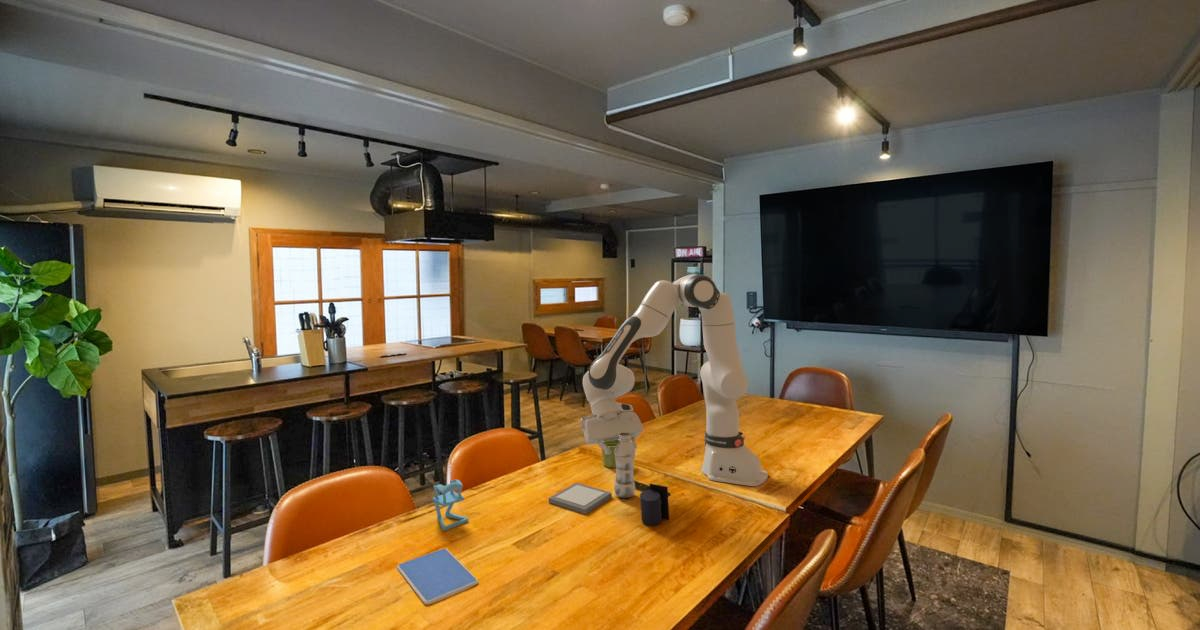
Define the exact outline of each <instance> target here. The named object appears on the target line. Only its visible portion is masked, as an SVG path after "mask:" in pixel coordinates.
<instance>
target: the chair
mask: <svg viewBox="0 0 1200 630" xmlns="http://www.w3.org/2000/svg"><path fill="white" fill-rule="evenodd" d="M463 487H464V486H463V483H462V482H461V481H460V479H452V480H450V481H449V484H446V485H443V484H441V483H440V484H436V485H433V490H434V493H435V495H434V496H433V497H432V502H433V504H434V507H435V512H436V515H437V517H436V519H437V520H438V523H439V525H440V528H441V531H447V530H451V529H453V528H455V527H458V526H460V525H462V524H465V523H468V522H469V518H468V517H466V516H464V515H463V516H462V515H459V514H455V513H452V512H451V511H452V508H453V506H454V504H455V503H456V504H457V503H460V502H462V501H465V496H463V495H462V491H463V490H462V489H463ZM455 490H458V491H457V492H456V491H455ZM439 492H440V493H441V494H439ZM440 507H442V508H446V507H447V508H446V511H445V515H444V516H445V517H447V518H449V519H455V520H458V521H455V522H452V523H450V524H447V525H445V523H444V519H443V517H442V514H441V513H442V512H441V509H440Z"/></svg>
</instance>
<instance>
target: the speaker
mask: <svg viewBox="0 0 1200 630" xmlns="http://www.w3.org/2000/svg"><path fill="white" fill-rule="evenodd" d="M668 490H669V488H668V486H666V485H660V484H654V483H649V489H646V490H645V489H644V490H643V491H641V492H640V494H639V501H640V513H641V514H640V515H641V516H640V517H641V522H642V524H643V525H646V526H648V527H656V526H659V525H660V524H662V521H663V520H666V521H669V520H670V512H669V511H670V506H669V491H668Z"/></svg>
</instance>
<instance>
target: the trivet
mask: <svg viewBox="0 0 1200 630" xmlns="http://www.w3.org/2000/svg"><path fill="white" fill-rule="evenodd" d="M612 496H613V495H612V492H611V491H607V490H603V489H599V488H596V487H593V486H589V485H586V484H584V483H583V484H582V483H578V482H575V483H572V484H571V485H569V486H568V487H566V488H564V489H563V490H560V491H558V492H557V493H555V494H553V495H552V496H549V497H548V503H549V504H551V505H554V506H558V507H561V508H564V509H567V510H571V511H574V512H577V513H580V514H583V515H587V514H588V513H590V512H591V511H593V510H594V509H596V508H598V507H599V506H600V505H603V503H605V502H606V501H609V500H610V499H611V498H612Z"/></svg>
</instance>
